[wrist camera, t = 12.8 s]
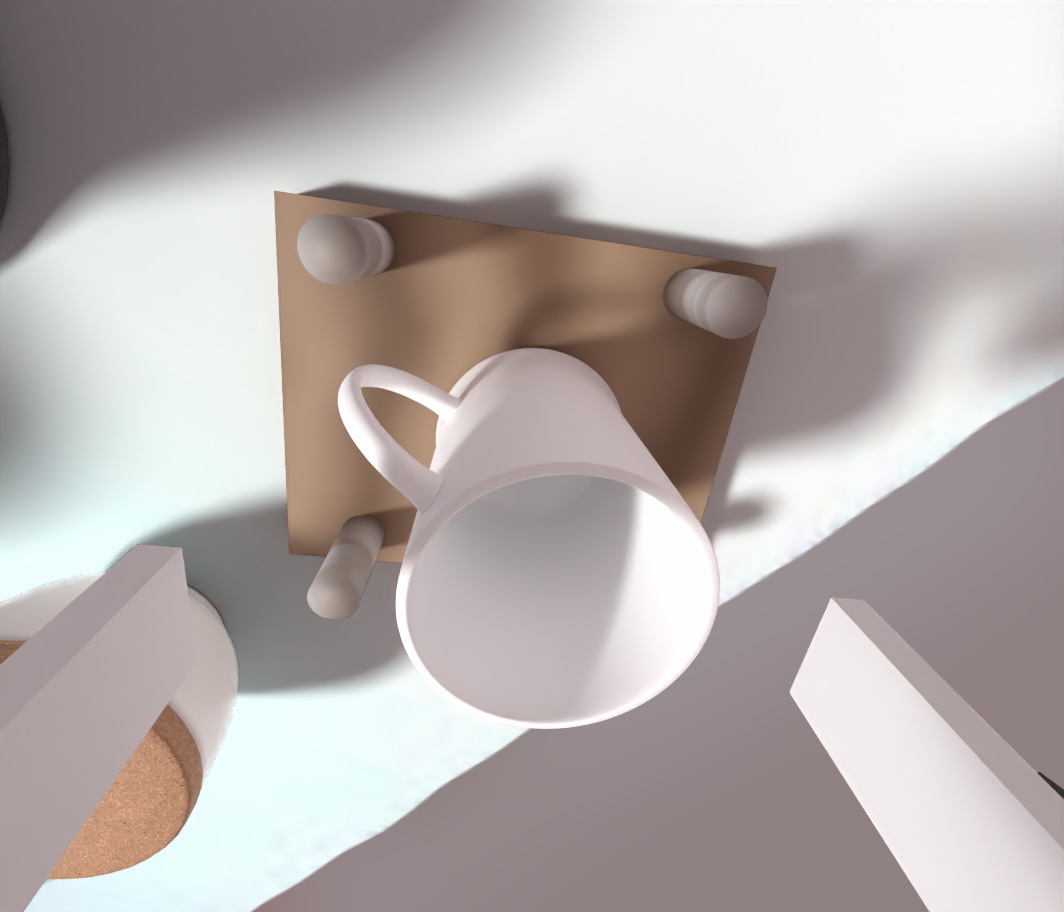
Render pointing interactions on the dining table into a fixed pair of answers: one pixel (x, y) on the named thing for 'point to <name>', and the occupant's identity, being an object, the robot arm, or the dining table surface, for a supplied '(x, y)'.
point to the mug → (539, 544)
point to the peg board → (484, 353)
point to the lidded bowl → (165, 752)
